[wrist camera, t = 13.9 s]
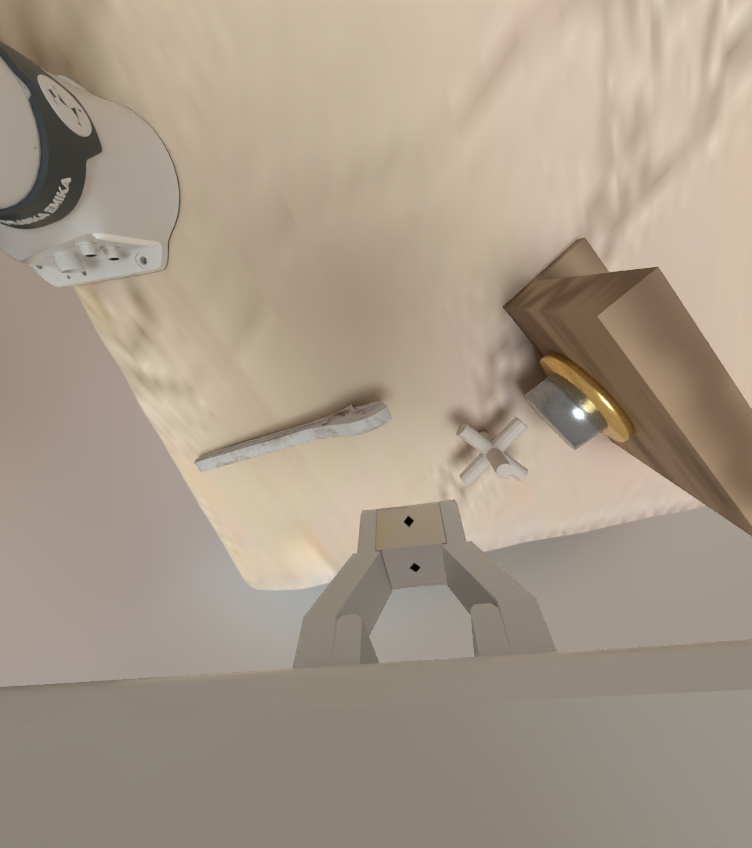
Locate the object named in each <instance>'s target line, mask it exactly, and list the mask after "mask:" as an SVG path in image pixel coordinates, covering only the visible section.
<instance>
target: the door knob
mask: <svg viewBox="0 0 752 848" xmlns="http://www.w3.org/2000/svg"><path fill="white" fill-rule="evenodd" d="M540 365H541V367H542V369H543V371H544V372H545V374H546V375H547V378H546V379H544V380H543V381H542V382H541V383H539V384H538V385H537V386H535V387H534V388H533V389H532V390H530V391H529V392H528V393H527V394H525V395H524V396H525V398H526V400H527V401H528V402H529V404H530V405H531V406H532V407H533V409H534V410H535V411H536V412H537V413H538V414H539V415H540V417H541V418H542V419H543V420H544V421H545V422H546V423H547V424H548V425H549V426H550V427H551V428H552V429H553V430H554V431H555V432H556V433H557V434H558V435H559V436H560V437H561V438H562V439H563V440H564V441H565V442H566V443H567V444H568V445H569V446H570V447H572V448H573V449H574V450H576V449H577V448H579V447H580V446H582V445H583V444H585V443H586V442H588V441H589V440H590V439H592V438H593V437H595V436H596V435H598V434H599V433H601V432H603V433H604V434H606V435H607V436H609V437H610V438H612V439H614V440H615V441H618V442H621V443H622V442H625V441H626V440H628V439H629V438H631V437H632V436H634V435H635V433H636V430H635V427H634V425H633V423H632V421H631V420H630V418H629V417H628V415H627V414H626V412H625V411H624V410H623V408H622V407H621V406H620V405H619V404H618V402H617V401H616V400H615V399H614V398H613V397H612V396H611V395H610V394H609V393H608V391H607V390H606V389H605V388H604V387H603V386H602V385H601V384H599V383H598V382H597V381H596V380H595V379H594V378H593V377H592V376H591V375H590V374H588V373H587V372H586V371H585V370H584V369H582V368H581V367H580V366H578V365H577V364H576V363H574V362H573V361H572V360H570V359H569V358H567V357H565V356H564V355H562V354H560V353H557V352H554V351H551V352H549V353H548V354H547V355H545V356H544V357H543V358H542V359H541V360H540Z"/></svg>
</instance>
